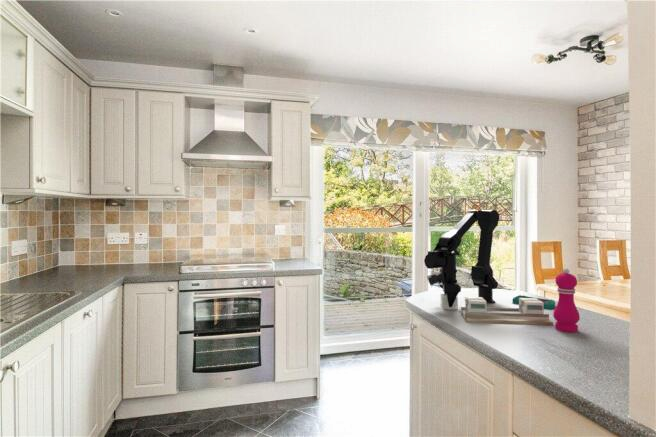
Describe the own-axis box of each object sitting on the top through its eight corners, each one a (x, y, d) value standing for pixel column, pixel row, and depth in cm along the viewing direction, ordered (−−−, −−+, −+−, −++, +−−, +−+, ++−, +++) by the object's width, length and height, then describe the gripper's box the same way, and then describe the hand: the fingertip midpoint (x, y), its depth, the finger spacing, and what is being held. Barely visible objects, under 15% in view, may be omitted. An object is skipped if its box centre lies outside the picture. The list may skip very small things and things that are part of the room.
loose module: (440, 305, 154) (440, 293, 154) (455, 306, 153) (455, 293, 153) (442, 309, 149) (442, 296, 149) (457, 309, 148) (457, 296, 148)
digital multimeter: (551, 310, 145) (551, 303, 145) (511, 304, 156) (511, 297, 156) (557, 307, 150) (557, 300, 150) (518, 301, 161) (518, 294, 161)
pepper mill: (571, 334, 116) (571, 270, 116) (548, 328, 123) (548, 268, 122) (584, 330, 120) (584, 269, 119) (561, 324, 126) (561, 266, 126)
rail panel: (459, 311, 145) (459, 294, 145) (536, 313, 140) (536, 296, 140) (467, 322, 131) (466, 303, 131) (553, 324, 126) (552, 305, 126)
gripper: (426, 263, 161) (426, 299, 162) (430, 270, 143) (431, 310, 143) (452, 263, 159) (453, 299, 160) (460, 270, 141) (461, 311, 141)
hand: (449, 304), depth 151 cm, fingers open, 6 cm apart
